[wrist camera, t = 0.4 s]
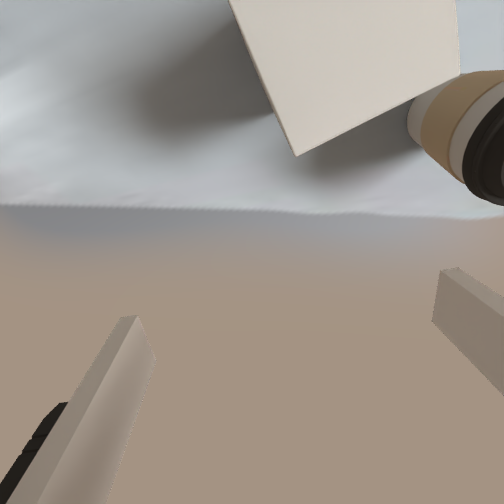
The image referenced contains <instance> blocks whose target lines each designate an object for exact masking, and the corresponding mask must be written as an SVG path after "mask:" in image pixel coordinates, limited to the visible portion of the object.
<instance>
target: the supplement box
mask: <svg viewBox="0 0 504 504" xmlns="http://www.w3.org/2000/svg"><path fill="white" fill-rule="evenodd" d="M228 2H229V5H230V7H231V9H232V12H233V14H234V17H235V19H236V22H237V24H238V27H239V29H240V32H241V35H242V37H243V40H244V42H245V45H246V48H247V50H248V53H249V55H250V57H251V60H252V63H253V65H254V67H255V70H256V72H257V74H258V77H259V79H260V82H261V84H262V86H263V89H264V91H265V93H266V96H267V98H268V100H269V102H270V105H271V107H272V109H273V111H274V113H275V116H276V118H277V120H278V122H279V124H280V126H281V129H282V131H283V133H284V135H285V137H286V139H287V141H288V144H289V146H290V148H291V150H292V152H293V154H294V156H295V157H297V156H299V155H301V154H303V153H305V152H307V151H309V150H311V149H313V148H315V147H317V146H319V145H321V144H323V143H325V142H327V141H329V140H331V139H333V138H335V137H337V136H339V135H341V134H343V133H345V132H347V131H348V130H350V129H352V128H354V127H356V126H358V125H360V124H362V123H364V122H366V121H368V120H370V119H372V118H374V117H376V116H378V115H380V114H382V113H384V112H386V111H388V110H390V109H392V108H394V107H396V106H398V105H400V104H402V103H404V102H406V101H408V100H410V99H412V98H414V97H416V96H418V95H420V94H422V93H424V92H426V91H428V90H430V89H432V88H434V87H436V86H438V85H440V84H442V83H444V82H446V81H448V80H450V79H453V78H455V77H457V76H459V75H460V56H459V41H458V27H457V16H456V4H455V0H228Z"/></svg>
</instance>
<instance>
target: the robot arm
mask: <svg viewBox="0 0 504 504" xmlns="http://www.w3.org/2000/svg"><path fill="white" fill-rule="evenodd" d="M432 322H433V323H434V324H435V325H436V326H437V327H438V328H439V329H440V330H441V331H442V332H443V333H444V334H445V335H446V336H447V338H448V339H449V340H450V341H451V342H452V343H453V344H454V345H455V346H456V347H457V348H458V349H459V350H460V351H461V352H462V353H463V354H464V355H465V356H466V357H467V358H468V359H469V360H470V361H471V363H472V364H473V365H474V366H475V367H476V368H477V369H478V370H479V371H480V372H481V373H482V374H483V375H484V376H485V377H486V378H487V379H488V380H489V381H490V382H491V383H492V384H493V385H494V386H495V387H496V388H497V389H498V390H499V392H500V393H501V394H502V395H503V396H504V297H502V296H501V295H499V294H498V293H496V292H495V291H493V290H492V289H490V288H489V287H487V286H486V285H484V284H483V283H481V282H480V281H478V280H476V279H475V278H473V277H472V276H471V275H469V274H467V273H466V272H465V271H463V270H461V269H460V268H451V269H444V270H440V274H439V280H438V286H437V292H436V299H435V305H434V311H433V317H432ZM155 363H156V358H155V356H154V353H153V351H152V349H151V346H150V344H149V341H148V339H147V336H146V334H145V331H144V329H143V327H142V324H141V322H140V319H139V317H138V315H135V316H127V317H121V318H120V319H119V321H118V323H117V324H116V326H115V327H114V329H113V331H112V333H111V334H110V336H109V337H108V339H107V340H106V342H105V344H104V346H103V347H102V349H101V350H100V352H99V353H98V355H97V357H96V358H95V360H94V362H93V363H92V365H91V367H90V368H89V370H88V371H87V373H86V375H85V376H84V378H83V380H82V381H81V383H80V384H79V386H78V388H77V389H76V391H75V392H74V394H73V396H72V397H71V399H70V401H69V402H64V403H59V404H58V405H57V406H56V407H55V408H54V409H53V410H52V411H51V412H50V413H49V414H48V415H47V416H46V417H45V418H44V419H43V420H42V422H41V423H40V425H39V426H38V428H37V429H36V431H35V432H34V434H33V435H32V439H31V440H29V441H28V443H27V445H26V446H25V447H24V449H23V450H22V454H21V455H19V456H18V458H17V459H16V461H15V462H14V464H13V466H12V467H11V468H10V470H9V471H8V473H7V474H6V476H5V478H4V479H3V480H2V482H1V484H0V504H106V502H107V499H108V496H109V493H110V490H111V488H112V485H113V482H114V479H115V476H116V473H117V471H118V468H119V465H120V462H121V459H122V456H123V454H124V451H125V448H126V445H127V442H128V440H129V437H130V434H131V431H132V428H133V425H134V423H135V420H136V417H137V414H138V411H139V408H140V406H141V402H142V400H143V397H144V394H145V391H146V389H147V386H148V383H149V380H150V377H151V374H152V371H153V369H154V366H155Z"/></svg>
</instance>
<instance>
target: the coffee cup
mask: <svg viewBox="0 0 504 504" xmlns="http://www.w3.org/2000/svg"><path fill="white" fill-rule="evenodd" d="M407 128H408V132H409V134H410V136H411V138H412V139H413V140H414V141H415V142H417V143H418V144H419V145H420V146H421V147H423V148H424V150H425V151H426V153H427V154H428V155H429V156H430V157H432V158H433V159H434V160H435V161H436V162H437V163H439V164H440V165H441V166H442V167H443V168H444V169H445V170H447V171H448V172H449V173H450V174H451V175H452V176H453V177H455V178H456V179H457V180H458V181H460V182H461V183H463V184H466V186H467V188H468V189H469V190H470V191H471V192H472V193H473V194H474V195H475V196H477V197H479V198H481V199H484V200H487V201H489V202H491V203H493V204H496V205H501V206H504V70H495V71H477V72H472V73H467V74H460V75H459V76H457V77H455V78H453V79H450V80H448V81H446V82H444V83H442V84H440V85H438V86H436V87H434V88H432V89H430V90H428V91H426V92H424V93H422V94H420V95H418V96H416V98H415V99H414V101H413V103H412V105H411V107H410V110H409V113H408V117H407Z"/></svg>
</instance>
